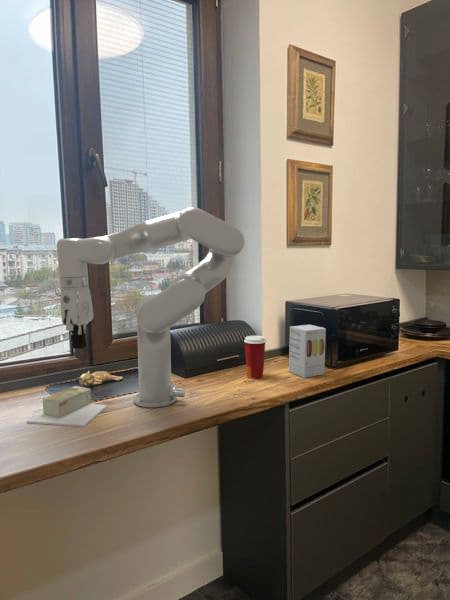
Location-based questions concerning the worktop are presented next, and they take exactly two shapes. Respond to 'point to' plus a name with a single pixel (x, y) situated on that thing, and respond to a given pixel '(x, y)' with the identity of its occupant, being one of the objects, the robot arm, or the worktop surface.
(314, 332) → the supplement box
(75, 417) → the mat
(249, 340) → the paper cup
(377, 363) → the worktop surface
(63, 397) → the skincare box
